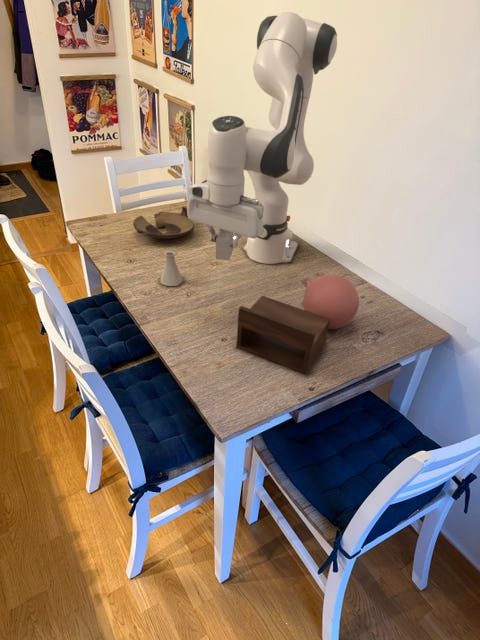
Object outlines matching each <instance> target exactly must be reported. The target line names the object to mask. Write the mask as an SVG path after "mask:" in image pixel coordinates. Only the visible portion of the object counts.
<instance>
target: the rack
mask: <svg viewBox="0 0 480 640" xmlns="http://www.w3.org/2000/svg"><path fill="white" fill-rule="evenodd" d="M237 317H238V318H237V331H236V347H235V348H236V349H239V350H241V351H244V352H245V353H248V354H251V355H254V356H255V357H259V358H261V359H263V360H266V361H268V362H271V363H273V364H276V365H278V366H281V367H283V368H286V369H289V370H292V371H293V372H296V373H299V374H301V375H304V376H307V375H308V372H309V371H310V369H311V368H312V366H313V365H314V363H315V361H316V360H317V358H318V356H319V355H320V353H321V351H322V350H323V348H324V347H325V346H326V345H325V344H326V341H327V340H326V339H327V336H328V332H329V329H328V328H329V323H330V319H329V318H326V317H323V316H320V315H318V314H315V313H312V312H309V311H306V310H304V308H300V307H297V306H294V305H291V304H288V303H285V302H282V301H279V300H276V299H273V298H270V297H269V296H265V295H261V296H260V297H259V298H258V299H257V300H256V301H255V303H253V305H252V306H251V307H250V308H248V307H246V306H243V305H240V307H239V308H238V316H237Z"/></svg>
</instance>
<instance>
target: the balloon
mask: <svg viewBox="0 0 480 640" xmlns="http://www.w3.org/2000/svg"><path fill="white" fill-rule="evenodd" d="M301 284H302V285H303V286H304V287H305V291H304V293H303V301H302V303H303V304H302V305H303V310H306V311H309V312H312V313H315V314H318V315H320V316H323V317H326V318H329V319H330V323H329V328H328V330H335V329H339V328H342V327H344V326H346V325H348V324H349V323H350V322H351V321H352V320H353V319H354V318H355V317H356V315H357V313H358V310H359V307H360V306H359V305H360V297H359V293H358V290H357V289H356V286H355V285H354V284H353V283H352V281H350V280H349V279H348V278H347V277H345V276H343V275H339V274H335V273H330V274H324V275H320V276H318V277H315V276H313V277H311V276H308V275H303V278H302V279H301Z"/></svg>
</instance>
